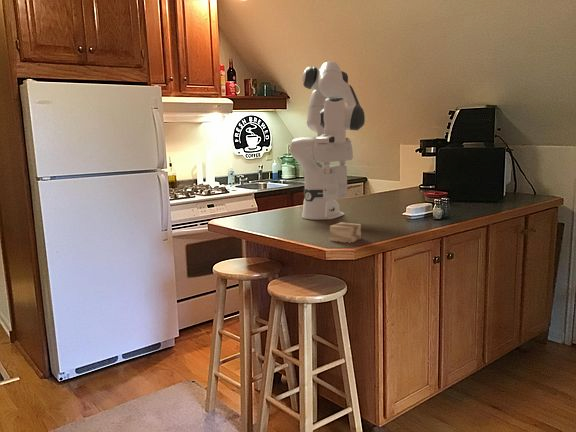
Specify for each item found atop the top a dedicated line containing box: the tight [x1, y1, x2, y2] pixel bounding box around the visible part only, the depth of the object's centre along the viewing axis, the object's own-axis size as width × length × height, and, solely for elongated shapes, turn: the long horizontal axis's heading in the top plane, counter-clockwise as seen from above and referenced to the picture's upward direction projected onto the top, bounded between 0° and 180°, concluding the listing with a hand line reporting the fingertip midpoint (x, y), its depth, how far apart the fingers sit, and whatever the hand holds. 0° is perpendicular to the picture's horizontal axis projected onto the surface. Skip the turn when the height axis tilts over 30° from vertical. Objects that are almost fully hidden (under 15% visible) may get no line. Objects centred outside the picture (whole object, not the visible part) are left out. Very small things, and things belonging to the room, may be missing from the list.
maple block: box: [329, 221, 362, 244], centre depth 206 cm, size 9×9×6 cm
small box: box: [321, 165, 348, 200], centre depth 213 cm, size 8×6×13 cm
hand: (334, 172), depth 212 cm, fingers closed on small box, 6 cm apart
